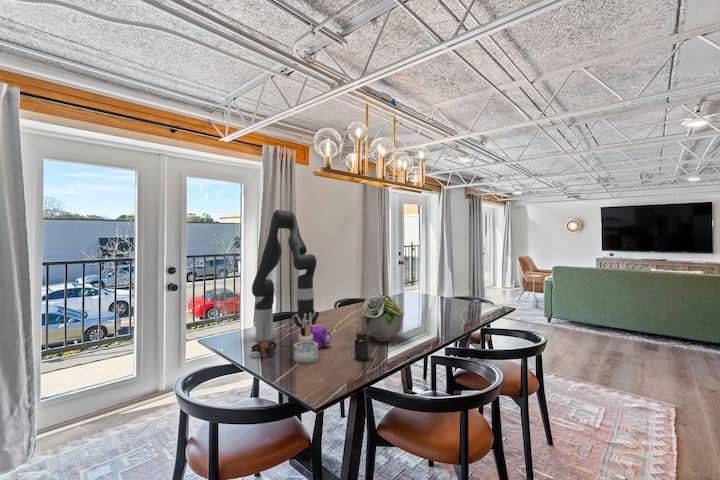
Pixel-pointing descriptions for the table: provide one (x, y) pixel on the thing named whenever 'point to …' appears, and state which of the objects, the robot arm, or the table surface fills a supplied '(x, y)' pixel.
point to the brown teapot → (264, 346)
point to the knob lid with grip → (306, 333)
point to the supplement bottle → (361, 346)
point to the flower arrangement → (382, 317)
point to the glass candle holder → (305, 352)
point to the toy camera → (320, 336)
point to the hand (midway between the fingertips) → (306, 334)
